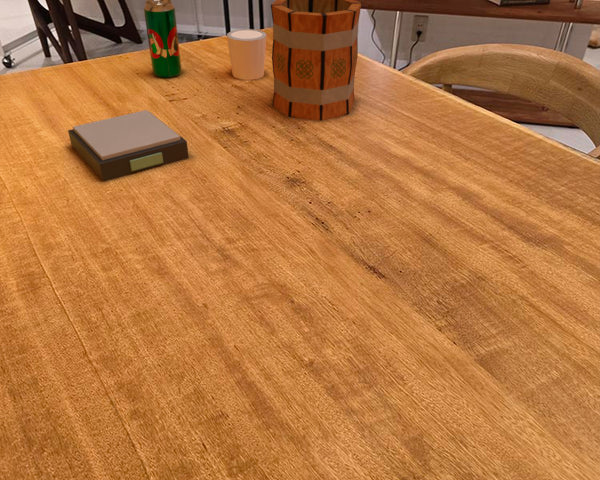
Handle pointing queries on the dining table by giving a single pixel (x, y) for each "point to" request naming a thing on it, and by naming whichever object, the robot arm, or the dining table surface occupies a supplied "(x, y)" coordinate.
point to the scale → (127, 144)
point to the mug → (314, 57)
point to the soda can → (163, 38)
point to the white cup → (247, 53)
